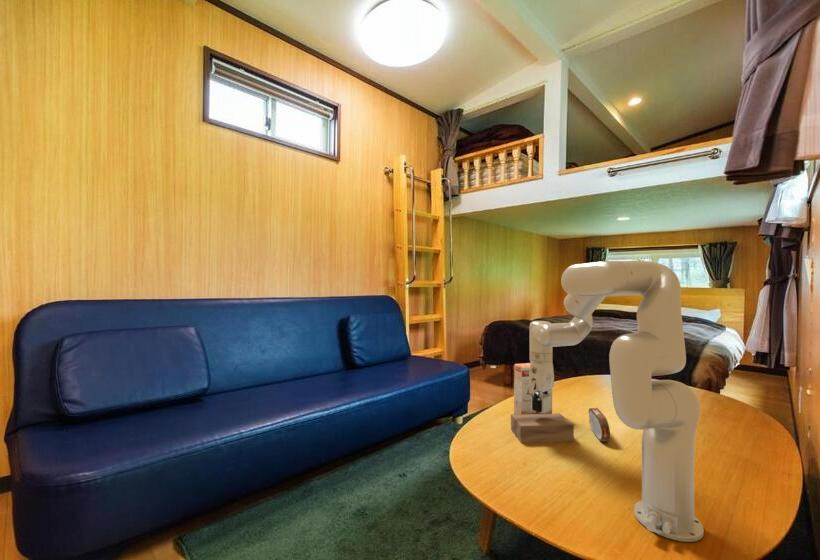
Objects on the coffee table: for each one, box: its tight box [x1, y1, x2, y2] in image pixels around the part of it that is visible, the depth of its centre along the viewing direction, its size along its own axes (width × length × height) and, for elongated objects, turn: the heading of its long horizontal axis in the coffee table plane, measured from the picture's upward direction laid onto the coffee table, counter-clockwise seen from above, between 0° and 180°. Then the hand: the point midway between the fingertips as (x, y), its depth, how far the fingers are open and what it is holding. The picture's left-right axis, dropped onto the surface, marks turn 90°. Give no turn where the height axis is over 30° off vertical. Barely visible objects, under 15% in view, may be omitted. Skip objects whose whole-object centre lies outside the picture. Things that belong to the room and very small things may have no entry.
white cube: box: [531, 392, 551, 413], centre depth 123 cm, size 5×5×5 cm
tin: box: [588, 407, 611, 443], centre depth 123 cm, size 15×3×8 cm, turn 168°
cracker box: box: [513, 362, 553, 414], centre depth 140 cm, size 14×6×21 cm, turn 105°
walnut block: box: [510, 412, 575, 444], centre depth 123 cm, size 10×18×6 cm, turn 92°
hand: (540, 408), depth 123 cm, fingers closed on white cube, 5 cm apart
